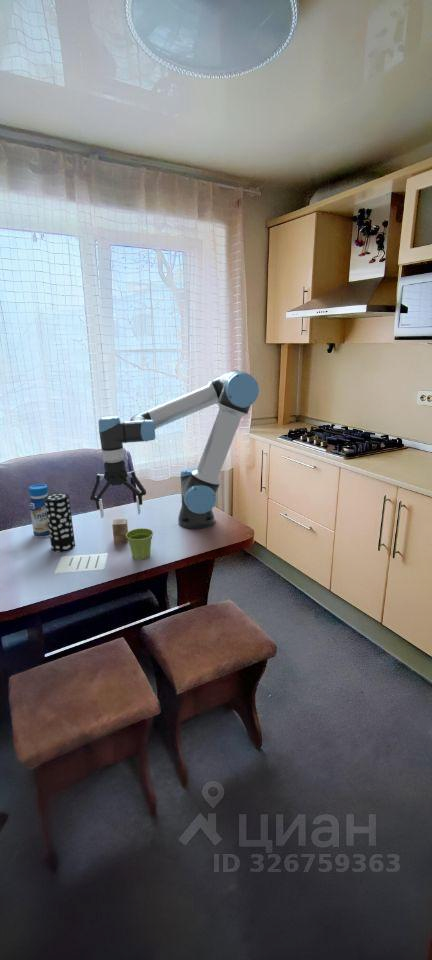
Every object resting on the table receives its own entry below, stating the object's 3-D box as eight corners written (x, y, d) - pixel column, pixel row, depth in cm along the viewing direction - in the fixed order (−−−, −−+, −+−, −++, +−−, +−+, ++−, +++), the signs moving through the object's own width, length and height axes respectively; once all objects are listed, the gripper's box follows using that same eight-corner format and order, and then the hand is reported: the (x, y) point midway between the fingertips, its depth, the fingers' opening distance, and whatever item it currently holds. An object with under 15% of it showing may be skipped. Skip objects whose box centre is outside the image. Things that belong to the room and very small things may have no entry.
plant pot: (149, 563, 148) (147, 540, 146) (123, 561, 150) (121, 538, 148) (158, 551, 157) (156, 529, 155) (133, 549, 159) (132, 527, 156)
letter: (107, 553, 156) (107, 553, 156) (104, 569, 145) (104, 569, 145) (61, 557, 154) (61, 556, 154) (54, 573, 143) (54, 573, 143)
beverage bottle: (52, 528, 179) (46, 481, 173) (58, 534, 173) (52, 487, 167) (31, 533, 175) (23, 485, 169) (36, 540, 168) (28, 491, 162)
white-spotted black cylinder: (47, 552, 158) (39, 500, 152) (58, 542, 166) (51, 492, 160) (69, 553, 157) (62, 501, 151) (79, 543, 165) (72, 493, 159)
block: (128, 537, 169) (126, 518, 166) (127, 543, 164) (126, 523, 162) (115, 538, 168) (113, 519, 166) (114, 544, 163) (112, 524, 161)
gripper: (148, 454, 161) (154, 507, 168) (80, 460, 159) (88, 514, 165) (148, 459, 154) (154, 515, 161) (76, 465, 152) (85, 521, 158)
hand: (121, 514), depth 163 cm, fingers open, 13 cm apart
